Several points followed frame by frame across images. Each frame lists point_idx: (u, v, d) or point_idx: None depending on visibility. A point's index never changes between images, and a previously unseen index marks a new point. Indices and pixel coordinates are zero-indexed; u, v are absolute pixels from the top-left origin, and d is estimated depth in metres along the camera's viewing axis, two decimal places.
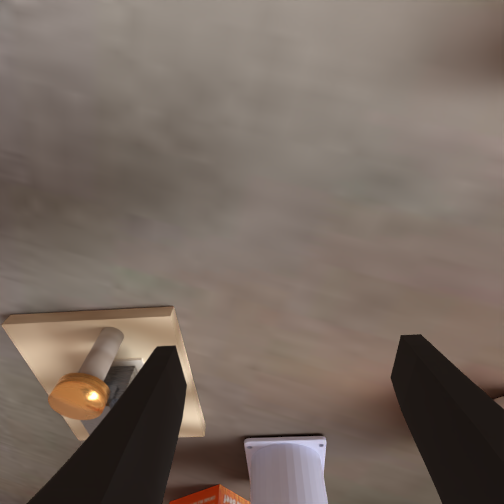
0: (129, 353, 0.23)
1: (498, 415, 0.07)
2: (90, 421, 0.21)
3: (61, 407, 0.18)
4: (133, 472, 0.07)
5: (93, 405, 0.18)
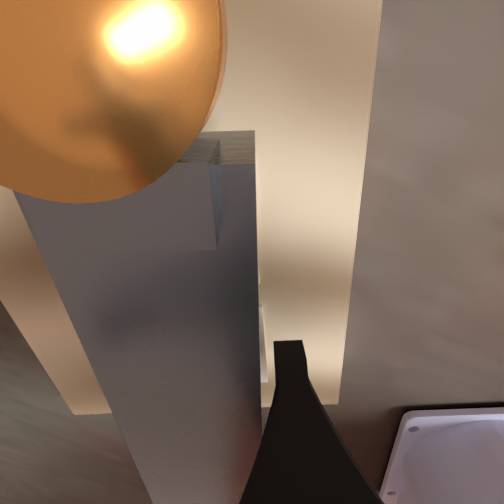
0: None
1: (316, 421, 0.07)
2: (97, 299, 0.06)
3: None
4: None
5: (152, 36, 0.02)
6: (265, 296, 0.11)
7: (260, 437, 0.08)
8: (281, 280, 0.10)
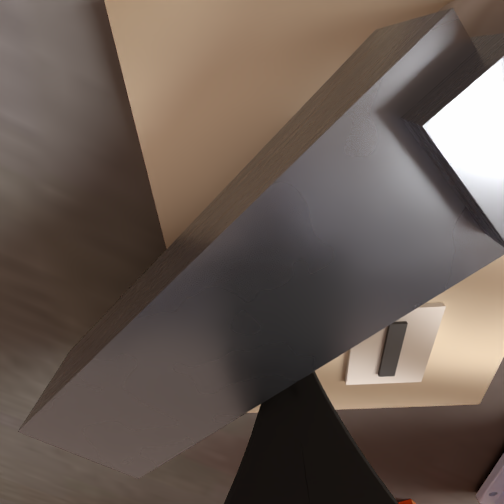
0: None
1: (326, 421, 0.07)
2: (324, 194, 0.04)
3: None
4: None
5: None
6: (449, 295, 0.10)
7: (248, 410, 0.07)
8: (471, 279, 0.10)
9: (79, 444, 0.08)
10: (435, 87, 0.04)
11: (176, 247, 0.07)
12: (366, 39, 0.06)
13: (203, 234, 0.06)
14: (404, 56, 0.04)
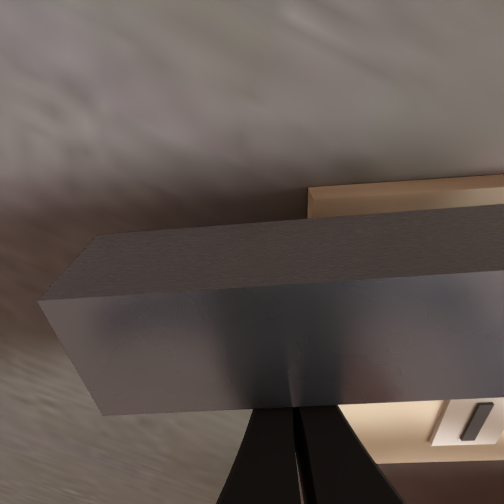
0: None
1: (332, 420, 0.07)
2: None
3: None
4: None
5: None
6: None
7: (300, 405, 0.07)
8: None
9: (91, 352, 0.06)
10: None
11: (347, 230, 0.07)
12: None
13: (424, 249, 0.06)
14: None
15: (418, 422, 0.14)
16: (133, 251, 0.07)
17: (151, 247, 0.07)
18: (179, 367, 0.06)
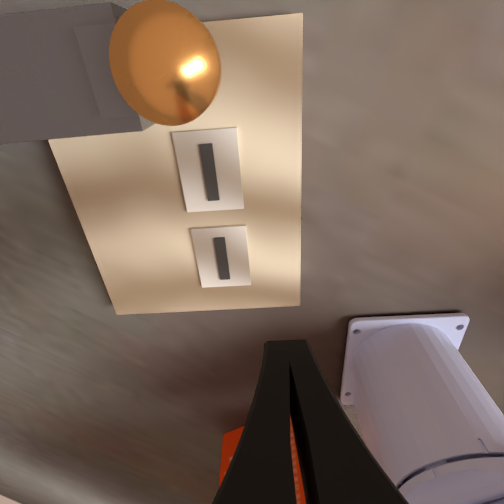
0: (217, 115, 0.14)
1: (334, 420, 0.07)
2: (42, 38, 0.09)
3: (150, 28, 0.08)
4: None
5: (168, 107, 0.09)
6: (247, 219, 0.17)
7: None
8: (257, 207, 0.16)
9: None
10: None
11: None
12: None
13: None
14: (90, 5, 0.09)
15: (183, 263, 0.18)
16: None
17: None
18: None
